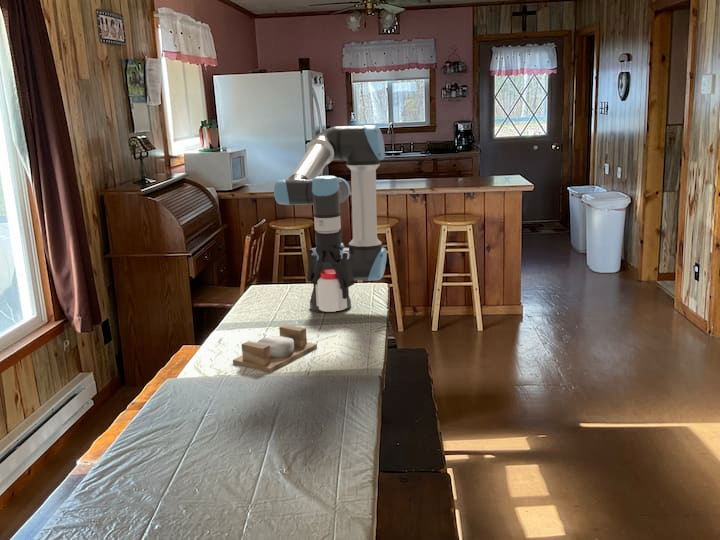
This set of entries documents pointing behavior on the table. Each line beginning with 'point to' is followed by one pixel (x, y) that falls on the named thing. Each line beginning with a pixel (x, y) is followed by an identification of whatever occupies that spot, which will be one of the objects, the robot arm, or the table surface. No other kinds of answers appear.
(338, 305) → the pill bottle
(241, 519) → the table surface
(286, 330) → the cardboard packaging tray
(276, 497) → the table surface
